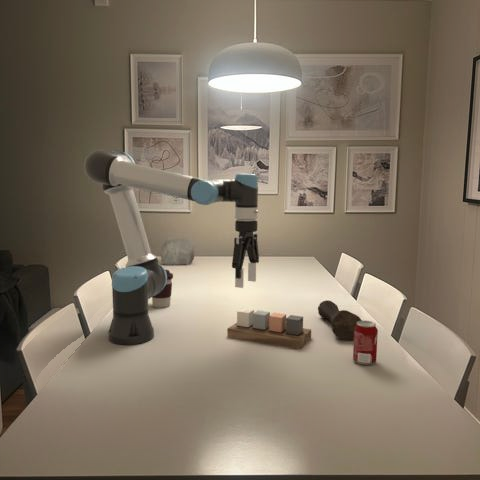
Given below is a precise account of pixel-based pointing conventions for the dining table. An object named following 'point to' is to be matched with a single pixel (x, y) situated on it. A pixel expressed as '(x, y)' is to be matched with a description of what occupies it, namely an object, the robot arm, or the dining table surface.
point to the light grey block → (261, 319)
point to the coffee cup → (164, 293)
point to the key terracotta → (277, 322)
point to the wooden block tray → (269, 336)
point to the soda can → (365, 343)
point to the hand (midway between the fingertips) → (245, 284)
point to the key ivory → (245, 317)
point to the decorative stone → (177, 251)
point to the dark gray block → (294, 324)
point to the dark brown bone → (339, 320)
